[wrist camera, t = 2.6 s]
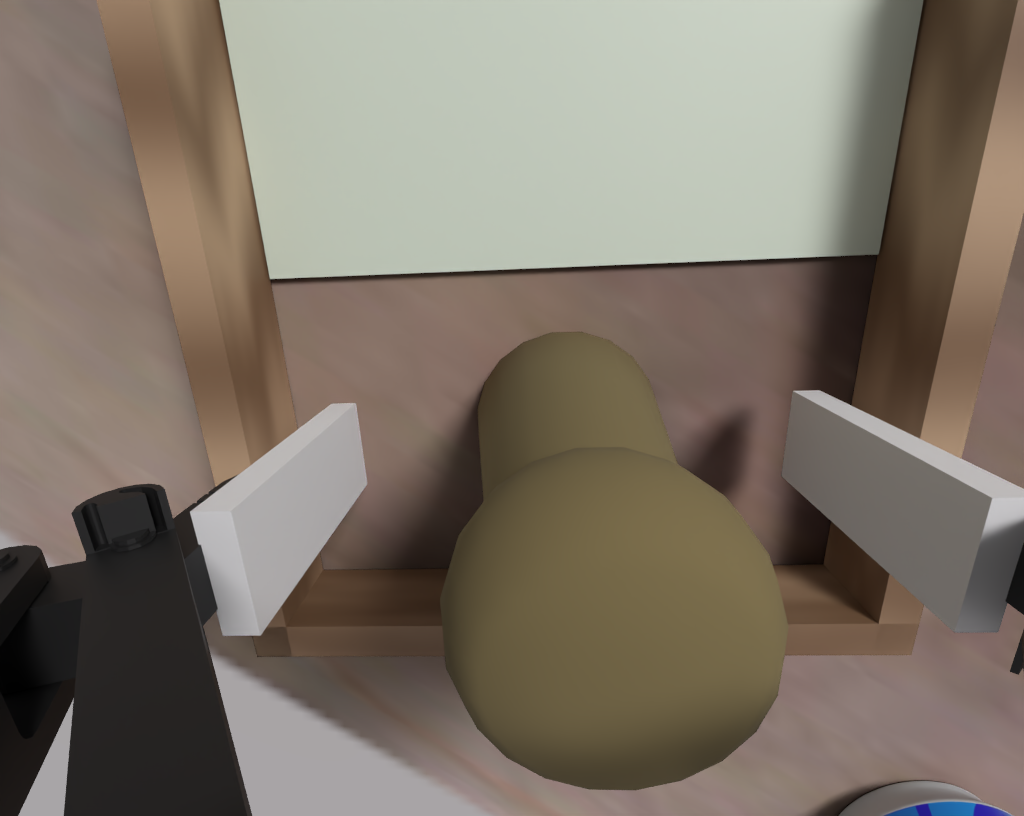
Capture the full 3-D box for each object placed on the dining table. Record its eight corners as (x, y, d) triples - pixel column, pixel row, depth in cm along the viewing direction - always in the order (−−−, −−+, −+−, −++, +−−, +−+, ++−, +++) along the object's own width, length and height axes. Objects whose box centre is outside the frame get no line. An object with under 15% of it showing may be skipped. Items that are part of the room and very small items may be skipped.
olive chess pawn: (468, 488, 18) (375, 836, 7) (487, 319, 16) (400, 454, 5) (636, 510, 18) (788, 890, 7) (674, 344, 16) (956, 529, 5)
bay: (170, -26, 13) (71, -102, 10) (986, -86, 12) (1125, -188, 9) (297, 596, 19) (257, 656, 16) (851, 591, 18) (910, 654, 15)
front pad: (208, -77, 13) (204, -82, 13) (941, -133, 12) (947, -139, 12) (273, 278, 16) (269, 279, 15) (874, 254, 15) (878, 254, 15)
